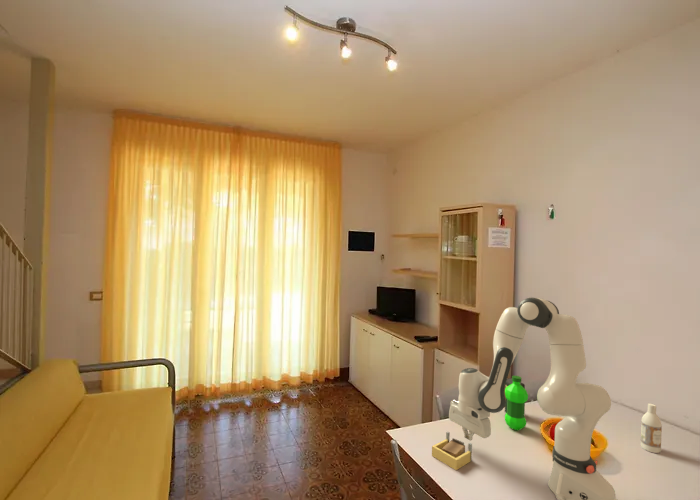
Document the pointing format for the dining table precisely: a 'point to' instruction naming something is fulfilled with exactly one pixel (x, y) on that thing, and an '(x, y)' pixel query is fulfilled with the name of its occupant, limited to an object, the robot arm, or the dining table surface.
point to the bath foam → (651, 430)
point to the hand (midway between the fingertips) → (468, 438)
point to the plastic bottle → (515, 404)
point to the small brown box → (454, 448)
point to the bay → (449, 459)
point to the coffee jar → (508, 382)
